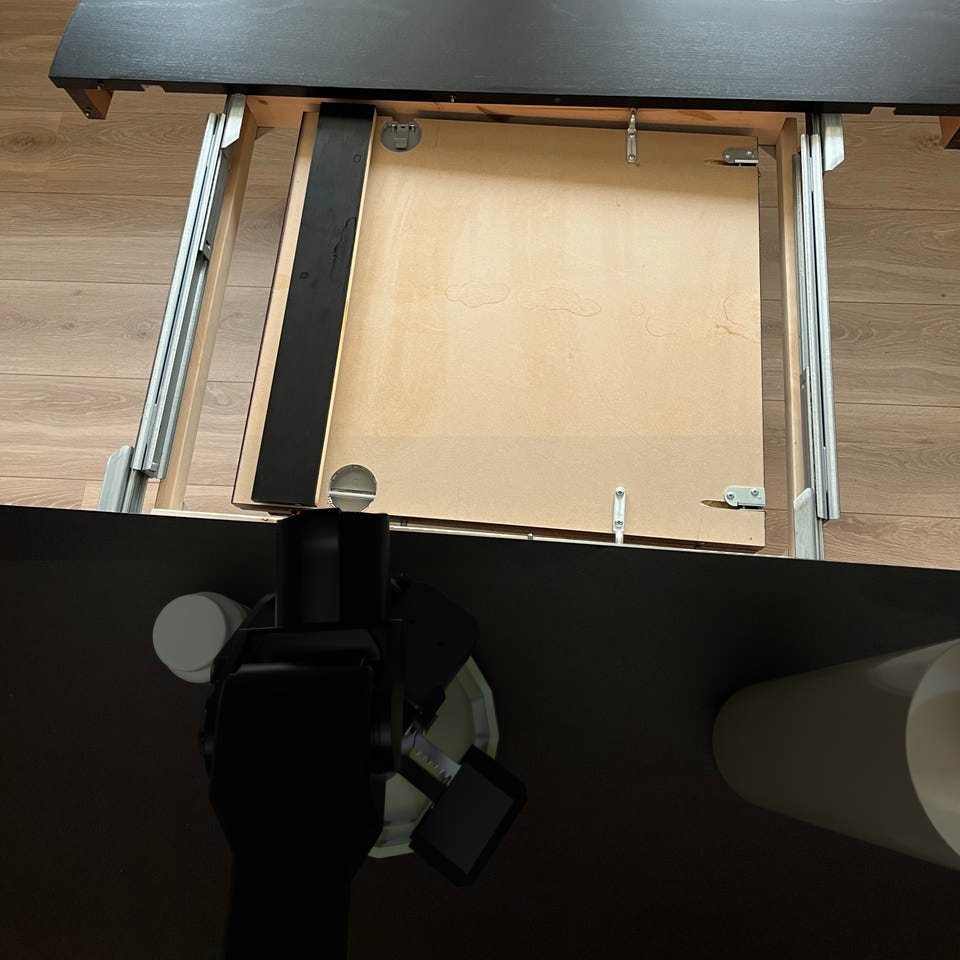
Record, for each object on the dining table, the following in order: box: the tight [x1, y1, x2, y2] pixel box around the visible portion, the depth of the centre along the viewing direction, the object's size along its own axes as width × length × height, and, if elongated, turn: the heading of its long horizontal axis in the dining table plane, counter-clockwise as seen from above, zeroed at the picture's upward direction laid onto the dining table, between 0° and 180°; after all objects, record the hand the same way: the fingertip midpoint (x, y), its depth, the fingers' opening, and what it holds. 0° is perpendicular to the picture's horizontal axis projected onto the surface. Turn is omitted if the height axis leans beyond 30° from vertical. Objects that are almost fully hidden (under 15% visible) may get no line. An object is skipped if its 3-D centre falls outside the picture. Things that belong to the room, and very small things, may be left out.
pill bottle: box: [152, 591, 252, 686], centre depth 71 cm, size 6×6×10 cm
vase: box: [711, 636, 960, 873], centre depth 50 cm, size 8×8×46 cm
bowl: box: [367, 655, 502, 859], centre depth 70 cm, size 14×14×5 cm
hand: (385, 732), depth 67 cm, fingers open, 9 cm apart
